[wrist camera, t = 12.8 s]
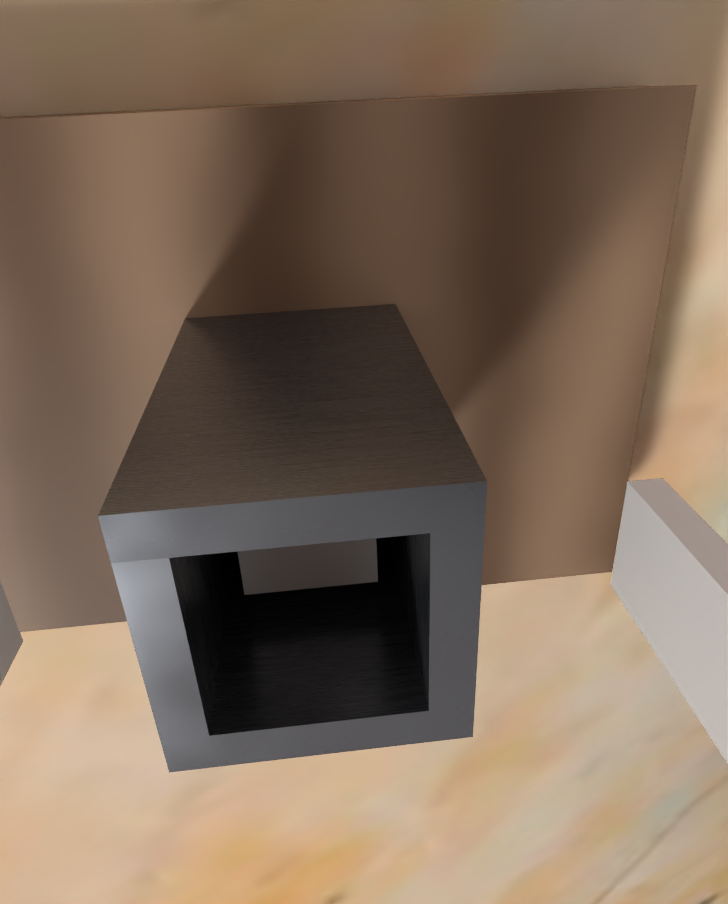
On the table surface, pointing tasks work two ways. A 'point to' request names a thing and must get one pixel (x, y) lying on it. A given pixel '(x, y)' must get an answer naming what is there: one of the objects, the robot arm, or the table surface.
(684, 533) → the robot arm
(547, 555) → the tang block
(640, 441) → the table surface
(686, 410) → the table surface
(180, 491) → the hollow square tube
